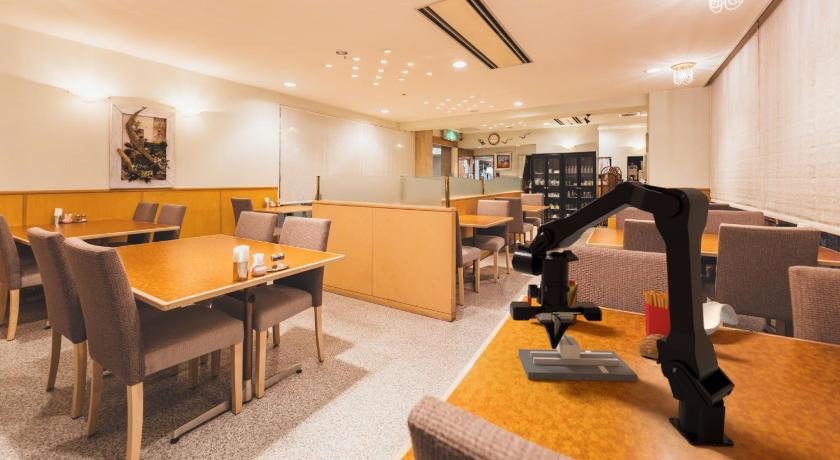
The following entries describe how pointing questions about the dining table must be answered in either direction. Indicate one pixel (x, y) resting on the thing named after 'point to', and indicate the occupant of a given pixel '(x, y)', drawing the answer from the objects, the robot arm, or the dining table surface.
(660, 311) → the french fries
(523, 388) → the dining table surface
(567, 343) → the block
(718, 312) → the spoon rest
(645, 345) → the pastry
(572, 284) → the mug
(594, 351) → the grey slider panel
